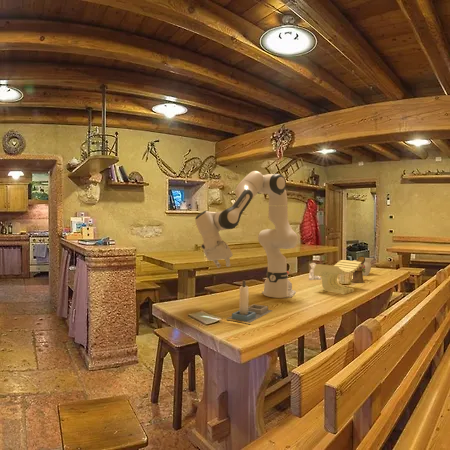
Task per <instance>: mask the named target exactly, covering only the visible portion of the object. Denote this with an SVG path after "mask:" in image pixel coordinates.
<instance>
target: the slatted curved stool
mask: <svg viewBox="0 0 450 450" xmlns="http://www.w3.org/2000/svg"><path fill="white" fill-rule="evenodd" d="M316 264H317V265H316V266H315V267H314V276H320V277H321V288H322V289H323V291H325V292H330V293H335V294H342V295H347V294H349V293H353V292H355V289H354V288H353V287H347V286H345V285H341V284H339V283H338V281H337V280H338V277H339V275H348V274H352V273H353V272H355V270H357V268H359V267H360V266H361V262H357V261H353V260H347V259H341V260H338V261H337V263H335V264H333V265H329V264H324V263H323V264H322V263H316Z"/></svg>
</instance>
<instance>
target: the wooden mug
mask: <svg viewBox="0 0 450 450" xmlns="http://www.w3.org/2000/svg"><path fill="white" fill-rule="evenodd" d="M365 258H366V257H364V256H363V255H360V256H358V257H357V258H356V260H357V262H361V264H363V263H364V262H365ZM351 283H354V284H364V283H365V282H364V275H363V274H362V267H361V266H360V267H359V268H357V270H355V272H353V279H352V282H351Z"/></svg>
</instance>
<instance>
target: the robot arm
mask: <svg viewBox="0 0 450 450" xmlns="http://www.w3.org/2000/svg"><path fill="white" fill-rule="evenodd" d="M286 187H287V182H286V179H285V177H284V175H282V174H279V173H268V174H267V173H266V174H263V173H262V172H261V171H258V170H252V171H250V172H249V173H248V174H246V175H245V176H244V177H243V178H242V180H241V181H240V182H239V183H238V184H237V185H236V188H235V190H234V193H235V196H236V200H235V201H234V203H233V204H232V205H231V206H229V208H225V209H224V210H221V211H209V210H204V211H201V212H200V213H198V214H197V215H196V216H195V219H194V220H195V225H196V227H197V230H198V232H199V234H200V236H201V238H202V241H203V242H202V244H201V245H200V247H201V249H202V250H203V253H204V255H205V257H206V259H207V260H208V262H209V261H210V262H213V263H214V265H215V266H216V267H217V269H220V268H221V267H222V264H221V263H220V262H219V260H224V261H225V266H226V268H228V267H231V266H232V264H231V260H230V259H231V258H232V257H233V252H232V249H231V247H230V245H228V243H226V242H225V241H224V240H222V237H221V234H220V233H219V231H220V232H221V231H225V230H233V229H235V228H236V227H237V226H238V225H239V223H240V220H241V218H242V217H241V216H242V214H243V213H244V212H245V210H246V208H248V205H249V204H250V203H251V201H252V200H253V199H254V198H255V196H256V195H257V194H259V195H261V194H262V195H267V196H268V212H267V213H268V220H269V222H271V223H272V224H273V225H274V227H275V228H273V229H272V228H266V229H262V230H260V232H259V234H258V236H257V240H258V241H257V242H258V243H259V245H261V247H262V248H263V250H264V251H265V254H266V257H267V258H266V259H267V271H266V279H265V280H264V284H263V285H264V286H263V290H262V291H261V294H263V295H264V296H265V297H269V298H275V299H276V298H277V299H278V298H279V299H280V298H281V299H282V298H292V297H293V296H294V295H295V294H296V292H297V291H296V290H294V289H293V283H292V282H291V281H290V280H289V277H288V276H289V274H290V272H289V271H288V270H287V269H288V268H287V267H288V266H287V261H288V260H287V257H286V256H285V255H284V254H283V253H282V252H281V250H280V249H283V250H284V249H285V250H287V249H294V248H296V247H297V245H298V243H299V236H298V234H297V232H295V231H294V229H293V228H292V225H291V224H290V222H289V213H288V212H289V211H288V208H289V207H288V204H289V203H288V194H287V191H286Z"/></svg>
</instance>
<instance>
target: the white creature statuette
mask: <svg viewBox="0 0 450 450" xmlns="http://www.w3.org/2000/svg"><path fill="white" fill-rule="evenodd" d="M317 264H318V263H315V262H311V263H309V266H310V269H309V273H308V280H309V281H312V280H313V281H314V280H315V281H316V280H319V281H322V278H321V276H314V267H315V266H316V265H317Z"/></svg>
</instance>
